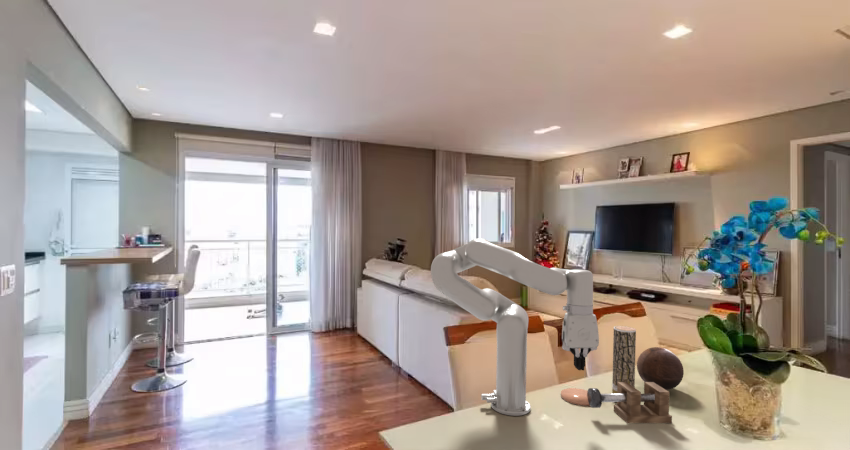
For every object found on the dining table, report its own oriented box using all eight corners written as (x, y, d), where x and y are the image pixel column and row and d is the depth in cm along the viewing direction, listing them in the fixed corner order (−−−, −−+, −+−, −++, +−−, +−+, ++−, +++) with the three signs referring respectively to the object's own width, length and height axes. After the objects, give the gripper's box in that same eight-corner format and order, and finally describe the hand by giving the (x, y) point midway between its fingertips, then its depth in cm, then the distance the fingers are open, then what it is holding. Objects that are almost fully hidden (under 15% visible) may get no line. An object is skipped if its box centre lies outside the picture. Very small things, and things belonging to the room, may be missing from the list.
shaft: (595, 411, 125) (595, 392, 125) (587, 402, 131) (587, 385, 131) (660, 410, 126) (660, 392, 126) (649, 402, 132) (649, 385, 132)
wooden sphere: (693, 396, 146) (694, 354, 146) (655, 398, 144) (656, 355, 144) (662, 380, 161) (663, 341, 161) (627, 381, 158) (628, 342, 158)
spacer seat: (569, 405, 136) (569, 402, 136) (555, 390, 148) (555, 388, 148) (604, 405, 136) (604, 402, 136) (588, 390, 148) (588, 388, 148)
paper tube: (636, 407, 136) (638, 331, 136) (614, 404, 137) (616, 330, 137) (630, 398, 143) (632, 326, 143) (609, 396, 144) (611, 325, 144)
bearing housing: (627, 423, 125) (628, 392, 125) (613, 411, 133) (614, 382, 132) (671, 422, 125) (672, 392, 125) (655, 410, 133) (656, 381, 133)
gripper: (561, 312, 123) (560, 373, 123) (609, 312, 124) (609, 372, 124) (551, 307, 131) (551, 365, 131) (597, 307, 132) (597, 364, 132)
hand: (579, 368), depth 127 cm, fingers closed
